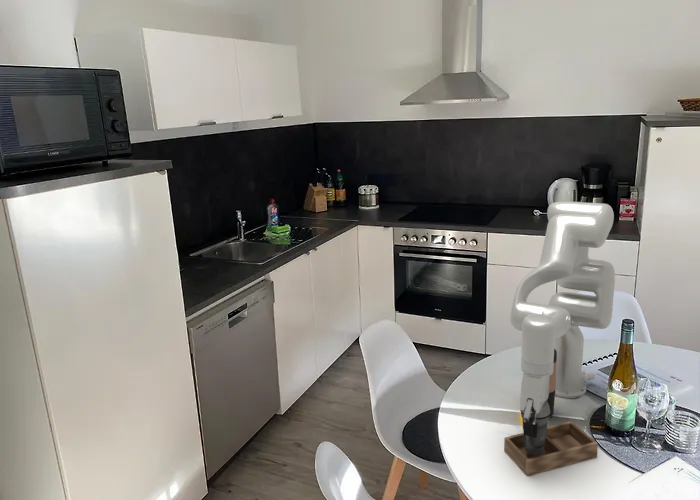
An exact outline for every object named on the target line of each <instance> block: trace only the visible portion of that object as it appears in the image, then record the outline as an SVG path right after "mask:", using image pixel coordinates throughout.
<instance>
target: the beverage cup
mask: <svg viewBox="0 0 700 500" xmlns="http://www.w3.org/2000/svg"><path fill="white" fill-rule="evenodd" d="M525 409H526V407H525ZM525 409H524V411H523V410H520V409H519V411H520V415H521V419H522V431H523V432H522V433H523V434H524V413H525ZM532 411H536V410H535V409H534V408H532ZM550 413H551V412H550V407H549V404H548V402H547V401H545V403H544V405H543V407H542V410H541V412H540V413H539V414H538V415H537V421H536V423H538V429H537V437H536V438H534V437H530V436H527V435H524V444H525V450H526V452H527V453H529V454H531V455H541V454H542V453H543V450H544V445H545V438H546V431H547V427H548V422H549V420H550V419H549V416H550ZM531 417H532V418H533V419H534V414H533V413H531Z"/></svg>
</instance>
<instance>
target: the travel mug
mask: <svg viewBox="0 0 700 500" xmlns="http://www.w3.org/2000/svg"><path fill="white" fill-rule="evenodd" d="M556 364H557V351H556V350H555V349H554V364H553V373H552V375H550V383H549V396H548V399H547V402H548V404H549V407H550V412H551V413H550V416H549V420H550V419H551V418H553V416H554V412H555V410H554V409H555V402H556V401H555V398H556V395H555V389H556Z"/></svg>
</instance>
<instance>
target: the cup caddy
mask: <svg viewBox="0 0 700 500" xmlns="http://www.w3.org/2000/svg"><path fill="white" fill-rule="evenodd" d="M503 440H504V441H503V442H504V444H503V448H504V450H503V451H504V453H505V454H506V455H507V456H508V457H509V458H510V459H511V460H512V461H513V463H514V464H516V465H517V467H518V468H519V469H521V471H522V472H523V473H524V475H526V476H527V477H530V476H533V475H536V474H539V473H540V474H541V473H544V472H547V471H550V470H554V469H558V468H559V469H560V468H561V467H565V466H570V465H573V464H576V463H580V462H584V461H587V460H591V459H595V458H597V457H598V449H599V443H598V442H597V440H595V439H594V438H592V437H591V436H590V435H589V434H588V433H586V432H585V431H584V430H582V429H581V428H580V427H579V426H578V425H577V424H575V423H574V422H573V421H571V420H569V421H566V422H565V421H564V422H562V423H558V424H553V425H550V426H549V425H548V426H547V431H546V438H545V445H544V450H543V453H542V454H541V455H531V454H529V453H527V452H526V450H525V444H524V434H523V432H522V433H518V434H514V435H510V436H506V437H504V438H503Z"/></svg>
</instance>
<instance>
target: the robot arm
mask: <svg viewBox="0 0 700 500" xmlns="http://www.w3.org/2000/svg"><path fill="white" fill-rule="evenodd" d="M546 213H547V216H546V217H547V220H548V222H547V227H546V230H545V236H544V241H543V244H542V250H541V255H540V260H539V263H538V265H537V266H536V267H535V268H533V269H532V270H531V271H529V272H528V273H527V274H526V275H525V276H524V277H523V278H522V280H520V282H519V283H518V286H517V287H516V289H515V291H514V292H515V293H514V296H513V302H512V305H511V310H510V316H509V317H510V318H509V319H510V324H511V326H512V327H513V328H514V329H516V330H517V331H521V350H520V351H521V357H520V370H521V372H522V373H523V374H522V379H521V382H520V383H521V385H520V395H519V396H520V397H519V411H520V410H523V411H524V409H525V407H526V409H525V413H524V435H527V436H530V437H534V438H536V437H537V429H538V423H536V421H537V415H538V414H539V413H540V412H541V410H542V407H543V405H544V403H545V401H547V399H548V396H549V383H550V375H552V373H553V364H554V349H555V350H556V351H557V364H556V389H555V397H560V398H564V399H565V398H566V399H574V398H580V397H582V396H583V395H585V394H586V392H587V385H586V382H587V381H590V380H594V379H595V374H594V373H593V372H589V373H586V371H585V370H583V361H584V359H583V358H584V347H585V343H584V342H585V339H584V334H583V332H582V330H581V329H580V327H584V328H590V329H595V330H597V329H598V330H605V329H607V328H609V326H610V325H611V322H612V319H613V310H614V309H613V308H614V307H613V306H614V297H615V286H616V285H615V284H616V283H615V282H616V272H615V267H614V266H613V264H612V263H611V262H610V261H607V260H602V259H601V260H600V259H591V258H590V257H589V251H590V250H589V249H590V248H591V249H592V248H593V249H598V248H601V247H602V246H603V245H604V244H605V242H606V240H607V238H608V236H609V233H610V231H611V230H612V227H613V224H614V221H615V220H614V219H615V218H614V217H615V215H614V214H615V213H614V211H613V208H612V206H611V205H609V204H608V203H599V202H585V201H584V202H581V201H556V202H552V203H550V205H549V206H548V207H547V212H546ZM555 281H556V283H557V285H558V286H559V287H561V288H563V289H566V290H567V289H568V290H573V291H581V292H589V293H590V292H591V293H594V294H595V295H589V294H584V293H578V292H577V293H575V292H567V291H562V292H557V293H554V294H552V296H551V297H550V299H549V302H548V304H543V303H538V302H537V303H536V302H535V303H534V302H530V301H527V300H528V297H529V296H530V294H531V292H532V291H534V290H535V289H536V288H538V287H540V286H543V285H546V284H547V283H551V282H555ZM532 408H534V409H535V410H536V411H532ZM531 413H533V414H534V419H533V418H532V417H531Z"/></svg>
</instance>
